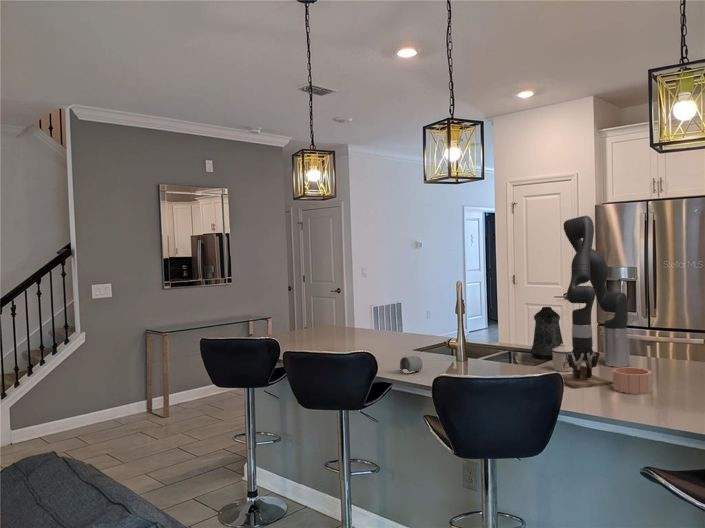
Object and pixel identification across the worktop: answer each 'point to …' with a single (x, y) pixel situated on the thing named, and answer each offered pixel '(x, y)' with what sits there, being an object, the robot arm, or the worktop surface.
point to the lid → (584, 379)
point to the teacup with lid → (561, 358)
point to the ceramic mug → (411, 363)
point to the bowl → (632, 380)
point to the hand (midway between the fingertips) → (583, 377)
